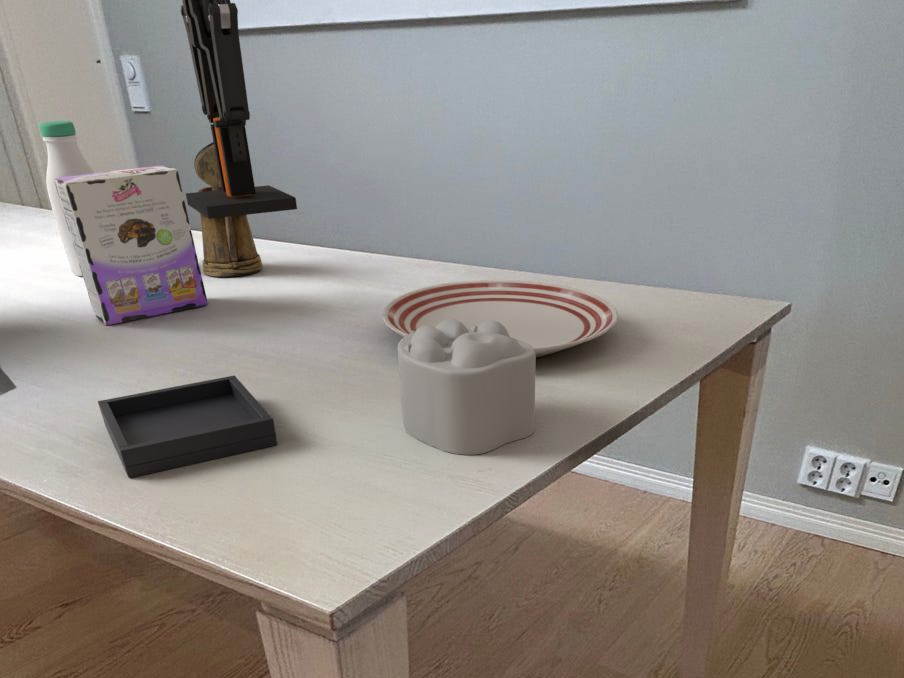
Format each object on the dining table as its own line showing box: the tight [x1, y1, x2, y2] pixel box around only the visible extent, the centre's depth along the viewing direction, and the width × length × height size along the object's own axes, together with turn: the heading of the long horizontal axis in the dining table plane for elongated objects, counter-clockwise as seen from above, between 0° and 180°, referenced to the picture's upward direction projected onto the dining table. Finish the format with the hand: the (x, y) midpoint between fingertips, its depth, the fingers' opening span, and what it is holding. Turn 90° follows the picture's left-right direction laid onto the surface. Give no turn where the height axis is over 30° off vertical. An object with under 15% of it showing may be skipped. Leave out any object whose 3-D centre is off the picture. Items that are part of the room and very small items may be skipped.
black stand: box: [185, 117, 298, 219], centre depth 92 cm, size 10×10×9 cm
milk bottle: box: [38, 120, 95, 277], centre depth 123 cm, size 8×8×20 cm
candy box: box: [54, 164, 209, 326], centre depth 105 cm, size 14×6×16 cm, turn 126°
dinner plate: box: [382, 279, 619, 358], centre depth 97 cm, size 28×27×3 cm
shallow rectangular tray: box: [97, 375, 279, 479], centre depth 76 cm, size 13×13×2 cm
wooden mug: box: [194, 141, 264, 278], centre depth 120 cm, size 9×14×18 cm, turn 19°
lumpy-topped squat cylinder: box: [397, 319, 537, 456], centre depth 75 cm, size 10×13×9 cm
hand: (238, 191), depth 94 cm, fingers closed on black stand, 3 cm apart
